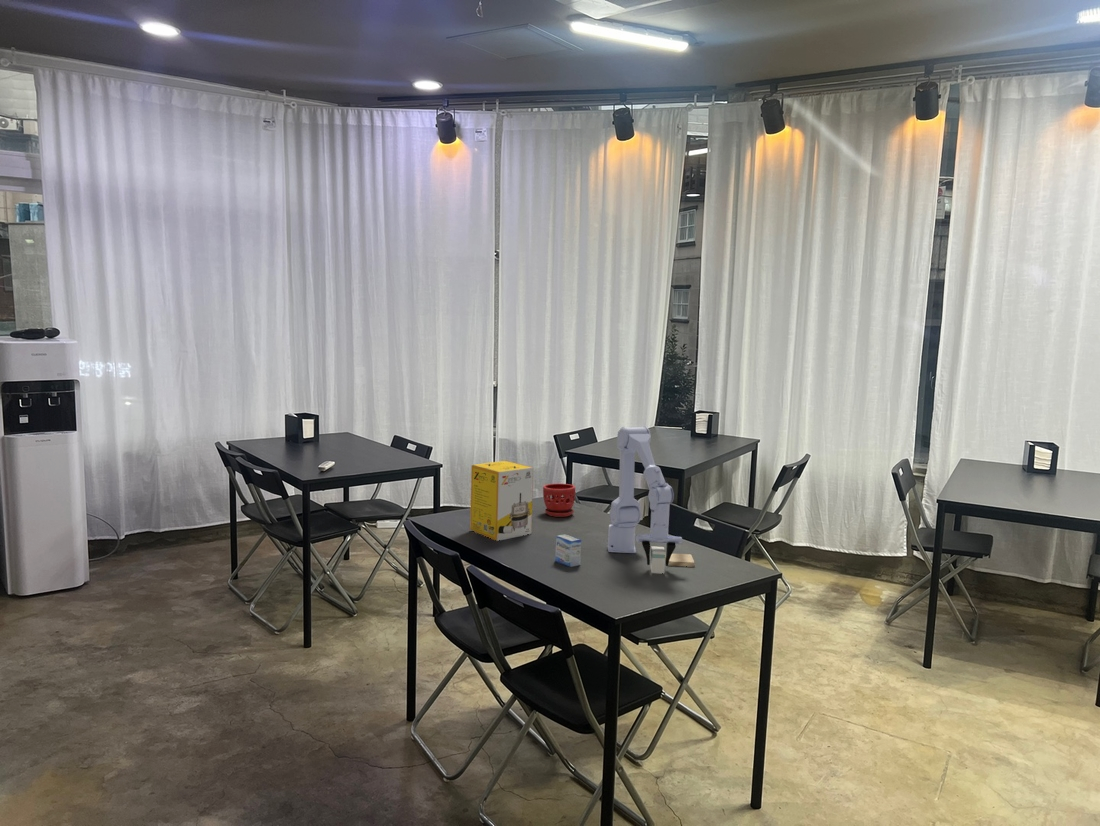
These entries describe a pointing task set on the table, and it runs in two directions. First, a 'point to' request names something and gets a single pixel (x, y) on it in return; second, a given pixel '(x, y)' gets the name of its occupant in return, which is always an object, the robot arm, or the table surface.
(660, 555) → the carton block
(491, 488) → the packaging box
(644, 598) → the table surface
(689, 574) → the table surface
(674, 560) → the oak block
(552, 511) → the plant pot
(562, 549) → the medicine box
